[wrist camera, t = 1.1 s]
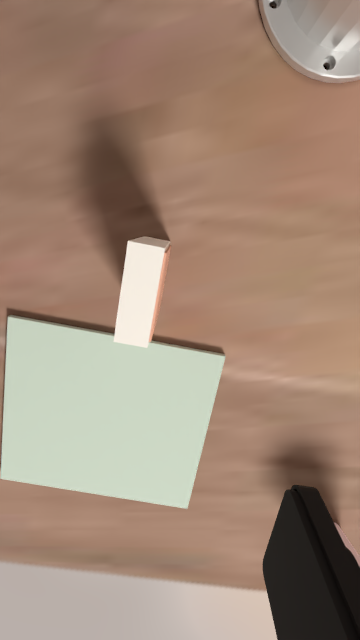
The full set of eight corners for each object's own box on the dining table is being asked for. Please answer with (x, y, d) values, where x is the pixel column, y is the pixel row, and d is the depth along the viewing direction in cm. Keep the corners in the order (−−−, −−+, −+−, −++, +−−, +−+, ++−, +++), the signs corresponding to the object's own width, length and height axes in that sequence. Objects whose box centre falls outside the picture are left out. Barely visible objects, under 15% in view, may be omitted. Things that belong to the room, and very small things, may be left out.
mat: (11, 314, 30) (7, 316, 29) (224, 354, 31) (225, 356, 30) (3, 474, 35) (0, 478, 34) (187, 504, 35) (187, 508, 35)
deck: (144, 236, 28) (127, 240, 19) (172, 241, 28) (167, 248, 19) (133, 307, 29) (113, 341, 21) (159, 312, 29) (149, 348, 21)
